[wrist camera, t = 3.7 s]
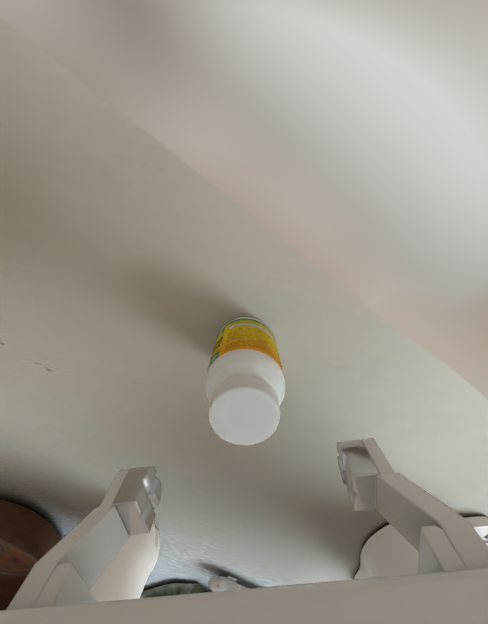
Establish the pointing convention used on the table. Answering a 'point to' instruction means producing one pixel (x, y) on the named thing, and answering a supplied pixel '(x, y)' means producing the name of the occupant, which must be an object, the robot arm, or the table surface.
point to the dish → (21, 546)
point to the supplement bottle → (244, 383)
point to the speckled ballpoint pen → (224, 584)
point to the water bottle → (129, 568)
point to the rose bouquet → (172, 590)
